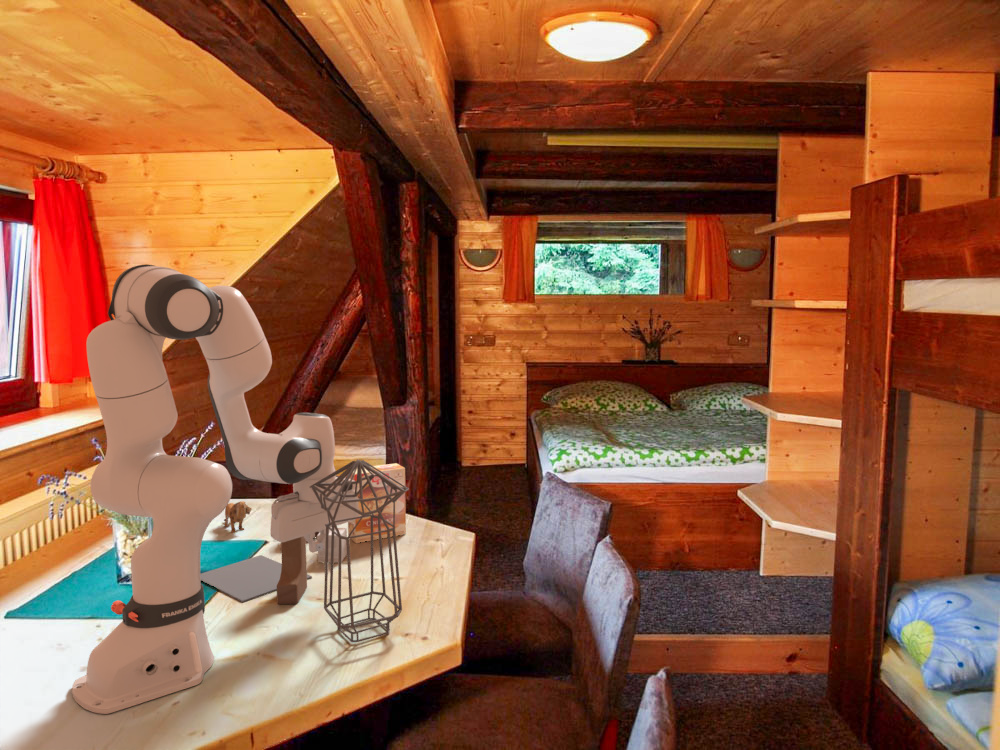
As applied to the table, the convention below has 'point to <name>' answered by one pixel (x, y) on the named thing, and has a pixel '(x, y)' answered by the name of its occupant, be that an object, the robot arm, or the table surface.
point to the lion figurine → (236, 514)
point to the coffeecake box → (400, 508)
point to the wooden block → (292, 571)
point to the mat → (246, 578)
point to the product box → (336, 547)
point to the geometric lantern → (348, 472)
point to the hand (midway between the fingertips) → (317, 550)
